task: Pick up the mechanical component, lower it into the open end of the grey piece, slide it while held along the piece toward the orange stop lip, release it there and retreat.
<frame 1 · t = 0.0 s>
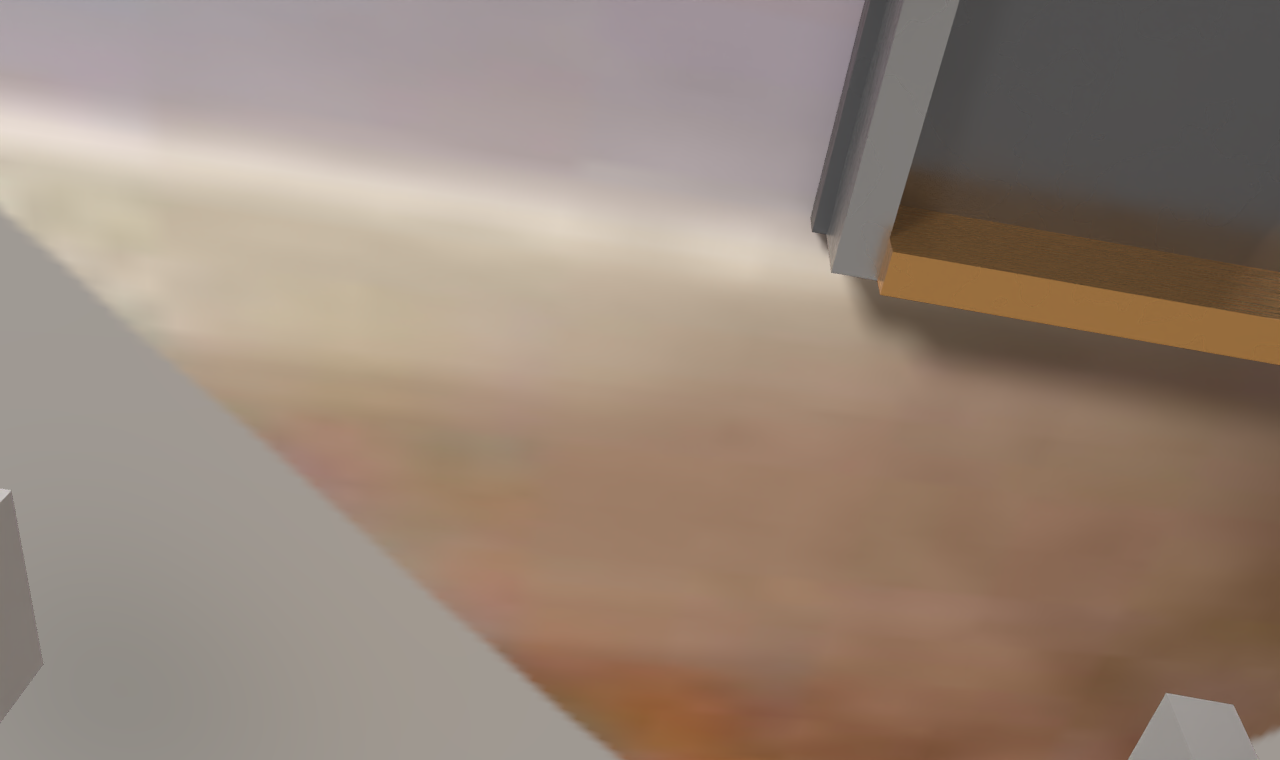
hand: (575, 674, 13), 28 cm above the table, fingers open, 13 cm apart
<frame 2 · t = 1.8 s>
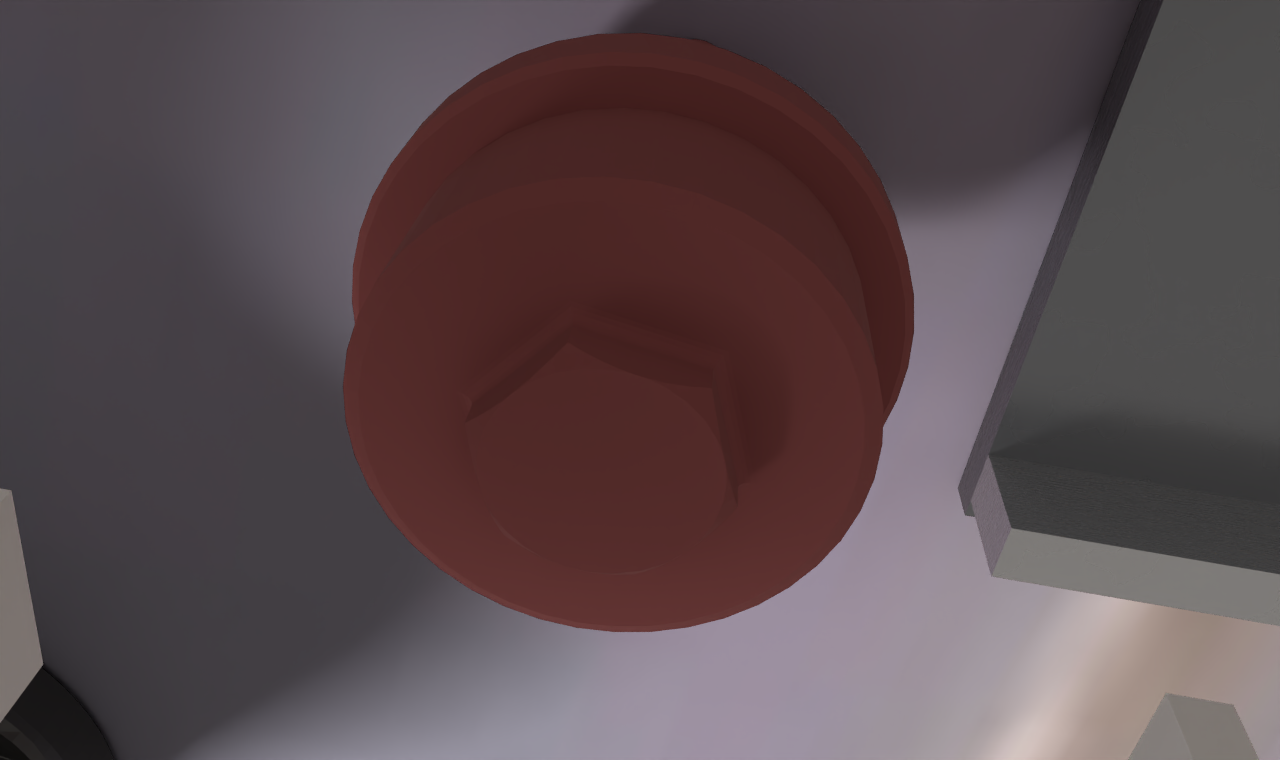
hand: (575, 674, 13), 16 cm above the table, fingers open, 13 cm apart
mechanical component: (660, 169, 27), on the table
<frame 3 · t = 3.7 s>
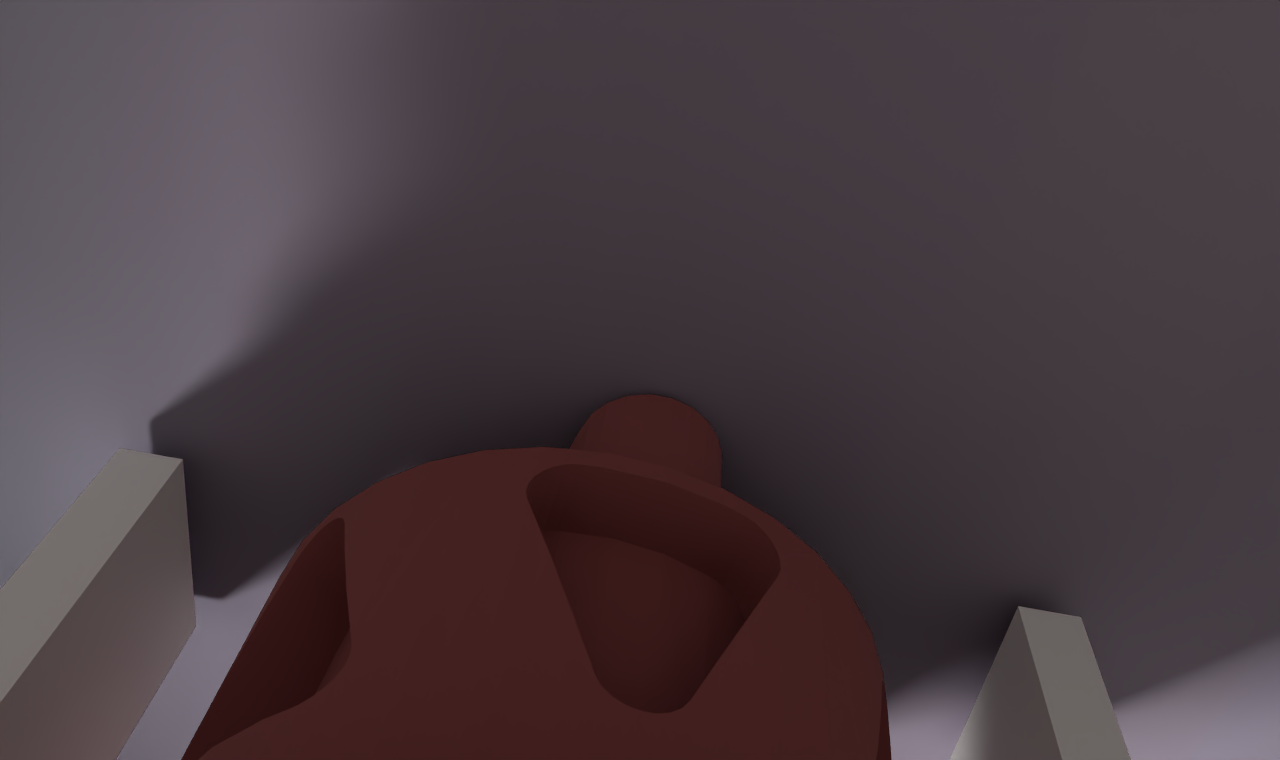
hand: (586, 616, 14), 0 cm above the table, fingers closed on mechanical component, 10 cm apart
mechanical component: (590, 590, 14), on the table, touching gripper
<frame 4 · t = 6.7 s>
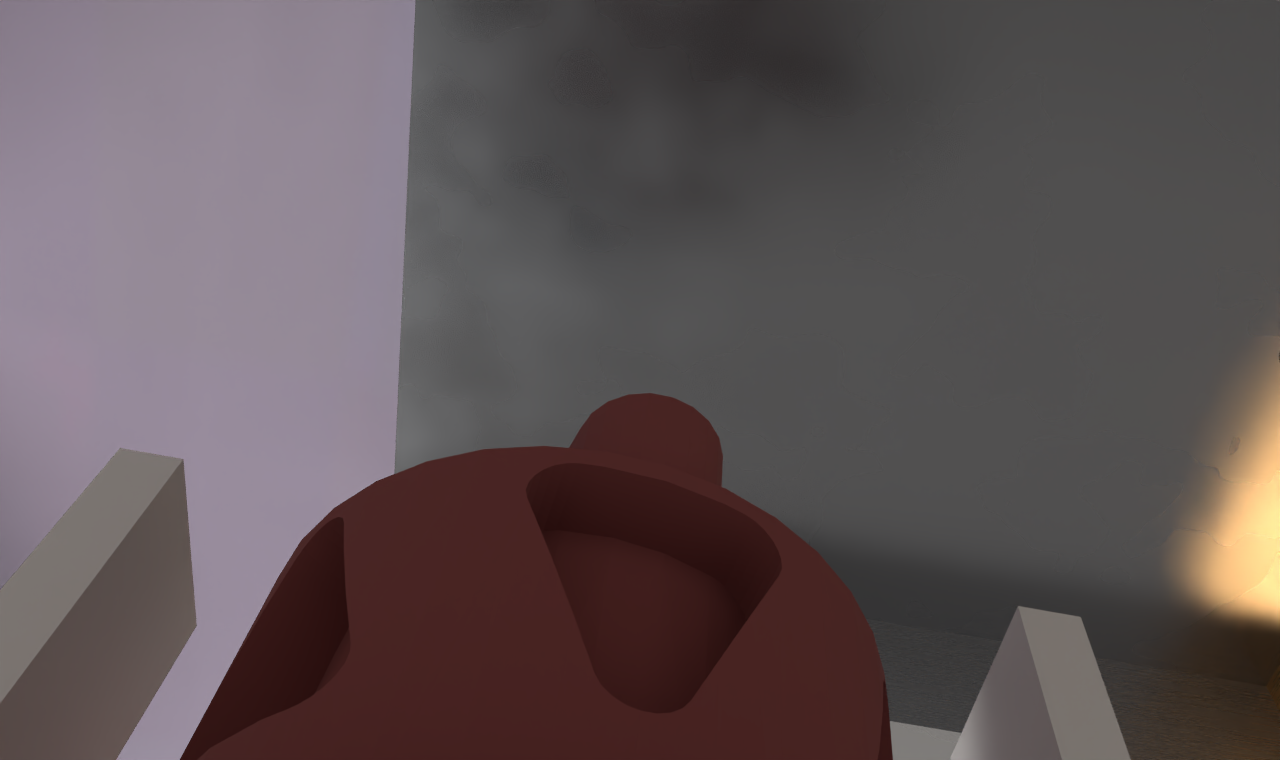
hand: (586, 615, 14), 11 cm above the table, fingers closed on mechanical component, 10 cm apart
grey piece: (949, 310, 23), on the table
mechanical component: (590, 589, 14), point 10 cm above the table, touching gripper
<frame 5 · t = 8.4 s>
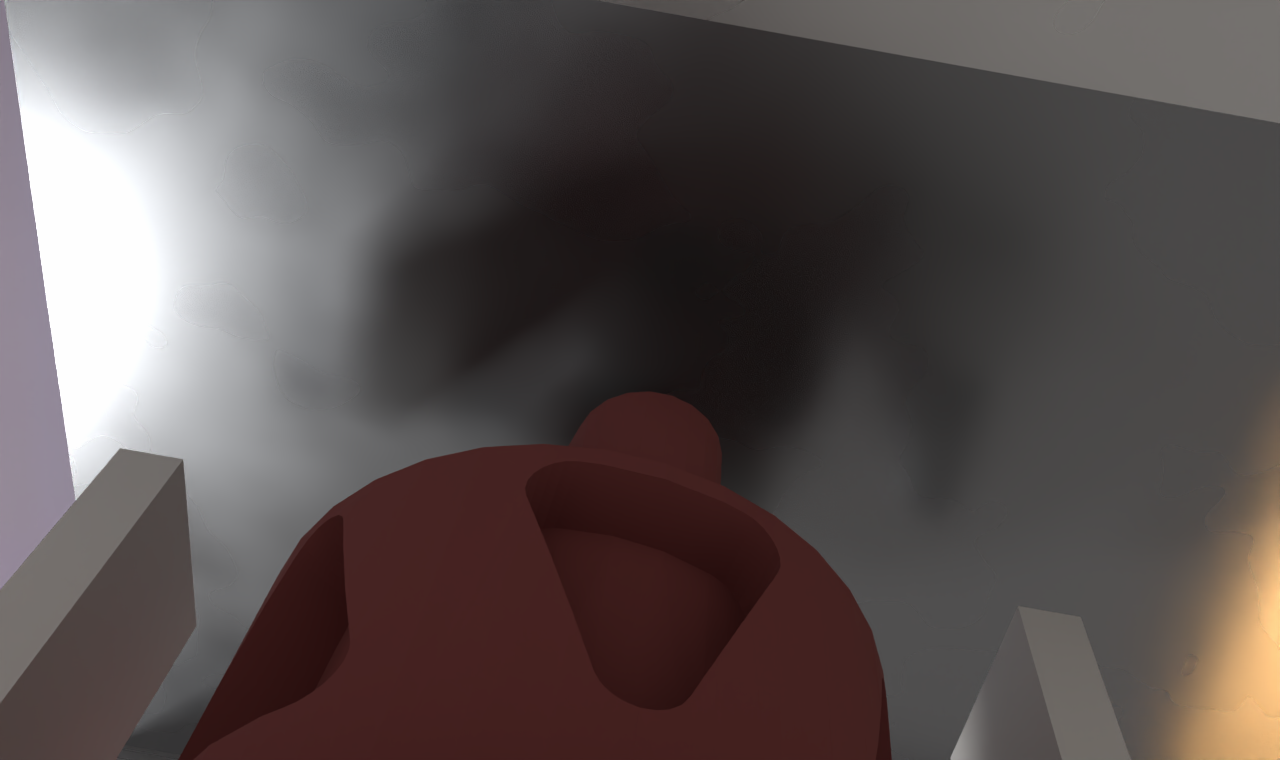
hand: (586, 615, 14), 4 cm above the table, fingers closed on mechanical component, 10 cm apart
grey piece: (810, 477, 17), on the table
mechanical component: (590, 587, 14), point 3 cm above the table, touching gripper
when the fingers open (4 cm above the table, at t = 9.7 s): mechanical component drops 2 cm, resting on grey piece.
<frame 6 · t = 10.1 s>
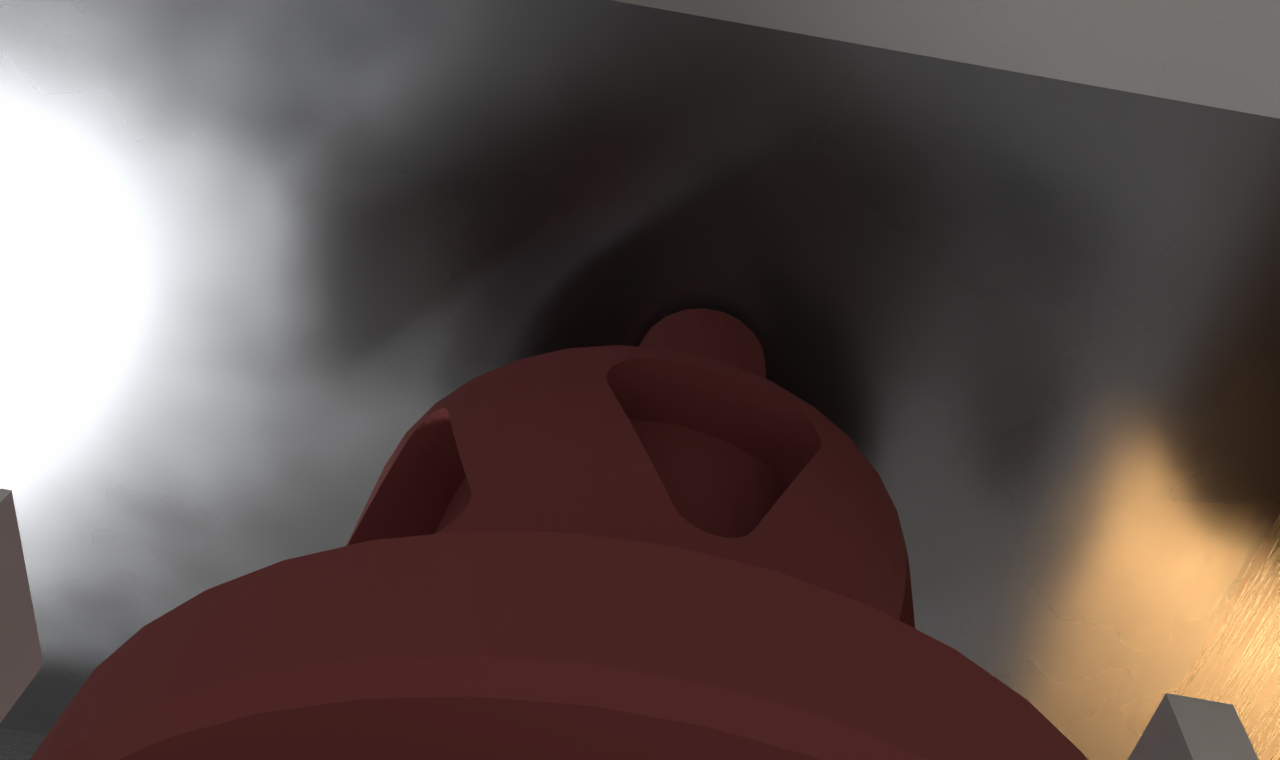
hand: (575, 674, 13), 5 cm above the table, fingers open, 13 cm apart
grey piece: (585, 439, 17), on the table
mechanical component: (645, 491, 16), point 1 cm above the table, touching grey piece
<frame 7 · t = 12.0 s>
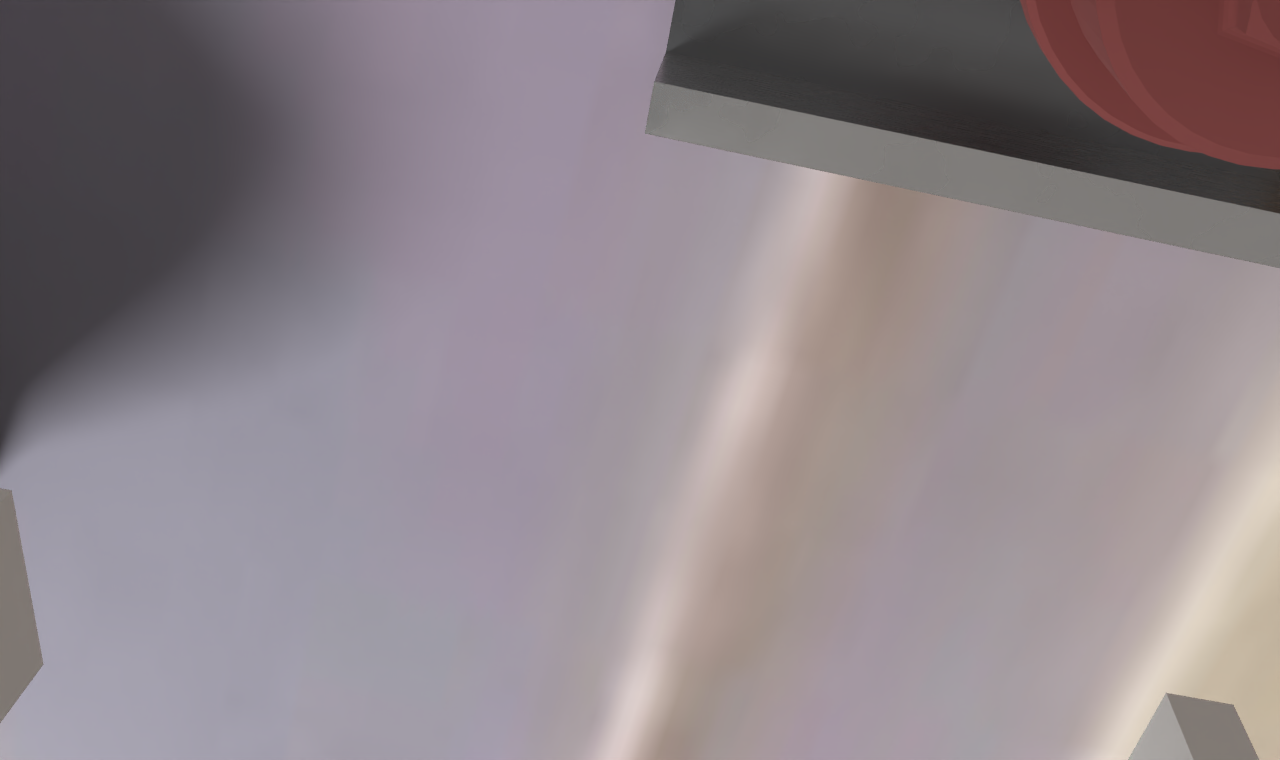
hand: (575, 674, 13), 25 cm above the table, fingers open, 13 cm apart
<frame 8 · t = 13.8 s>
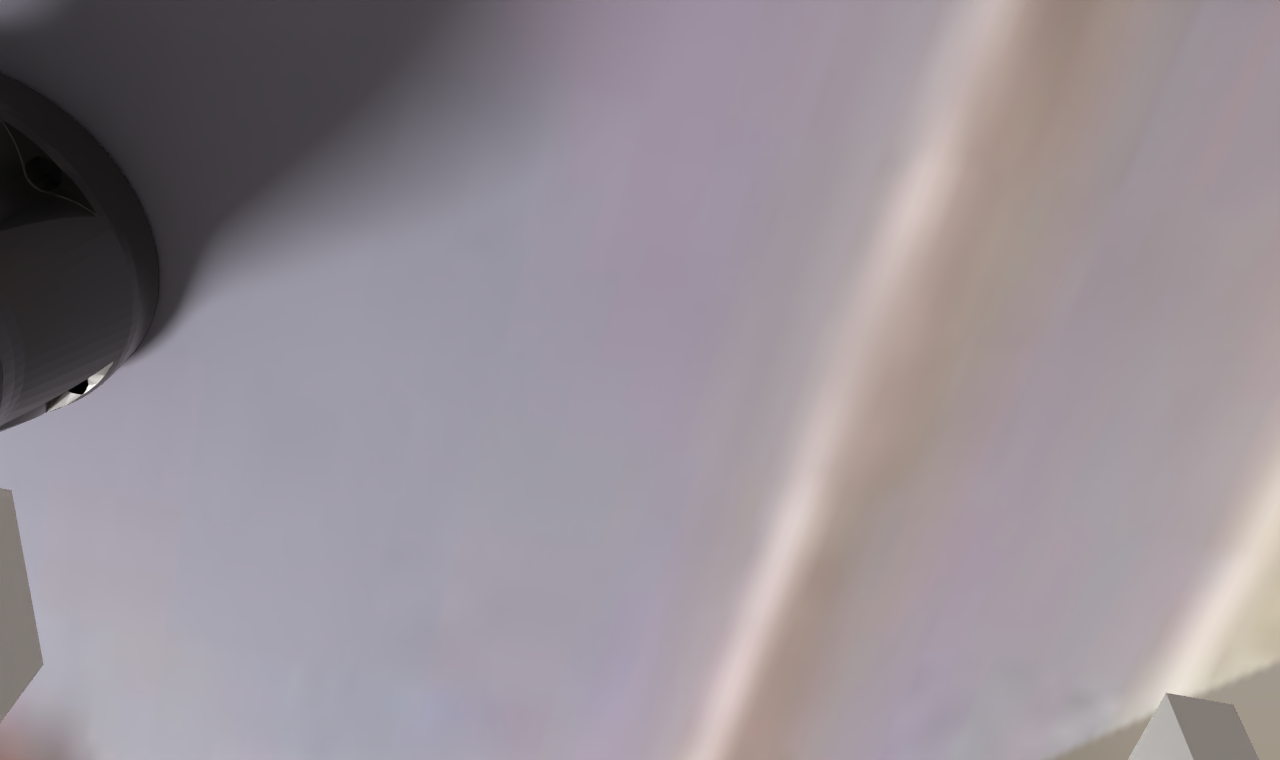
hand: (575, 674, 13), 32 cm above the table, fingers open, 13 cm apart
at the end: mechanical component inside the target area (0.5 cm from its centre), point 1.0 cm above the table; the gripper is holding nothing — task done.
